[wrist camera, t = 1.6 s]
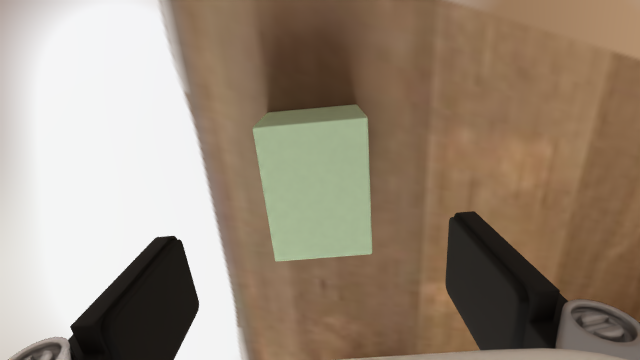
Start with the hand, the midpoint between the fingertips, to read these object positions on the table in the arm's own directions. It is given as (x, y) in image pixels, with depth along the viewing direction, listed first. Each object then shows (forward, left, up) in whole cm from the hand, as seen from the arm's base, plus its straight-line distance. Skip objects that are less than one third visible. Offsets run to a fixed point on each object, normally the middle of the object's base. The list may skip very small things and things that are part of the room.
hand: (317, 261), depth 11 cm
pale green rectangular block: (-1, 0, -8) cm, 8 cm away
